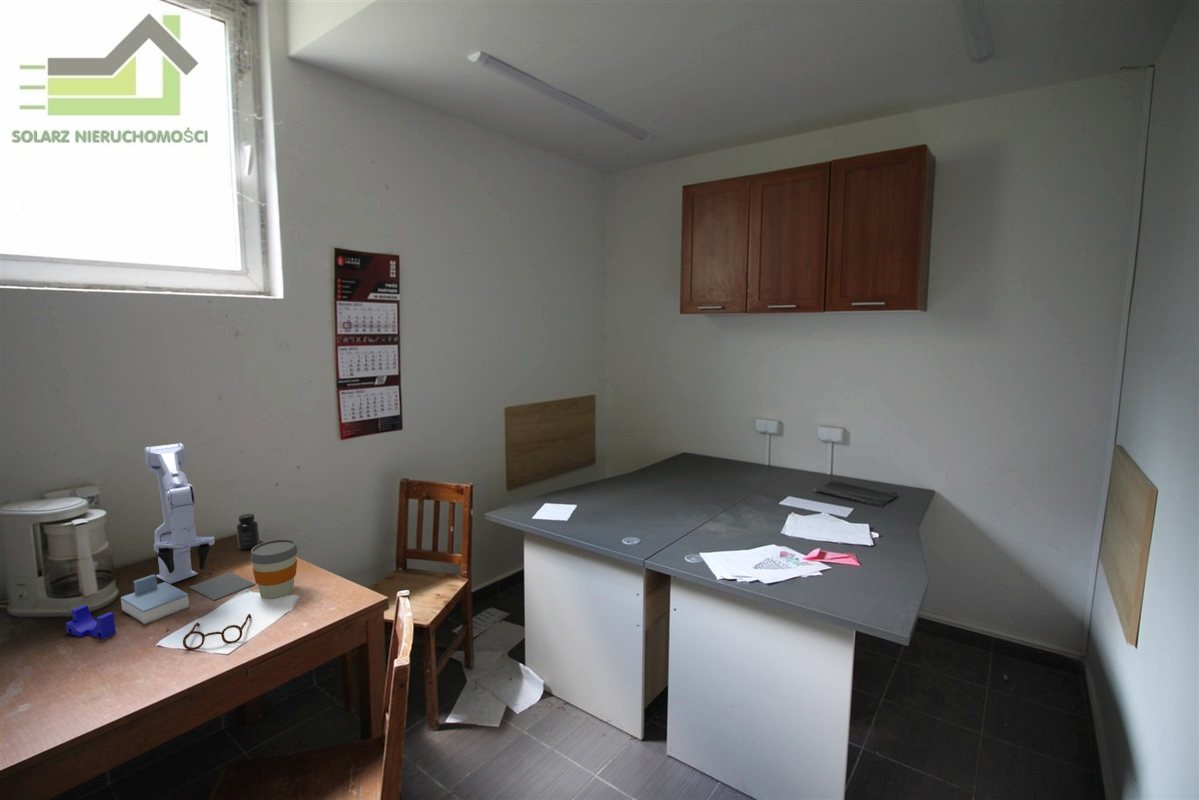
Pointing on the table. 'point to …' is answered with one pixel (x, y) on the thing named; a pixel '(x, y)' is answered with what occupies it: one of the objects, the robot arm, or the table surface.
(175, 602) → the tub
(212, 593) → the mat
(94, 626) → the cable clip
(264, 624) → the table surface
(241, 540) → the supplement bottle
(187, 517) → the robot arm
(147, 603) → the lid
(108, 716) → the table surface
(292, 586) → the reusable coffee cup
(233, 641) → the glasses
